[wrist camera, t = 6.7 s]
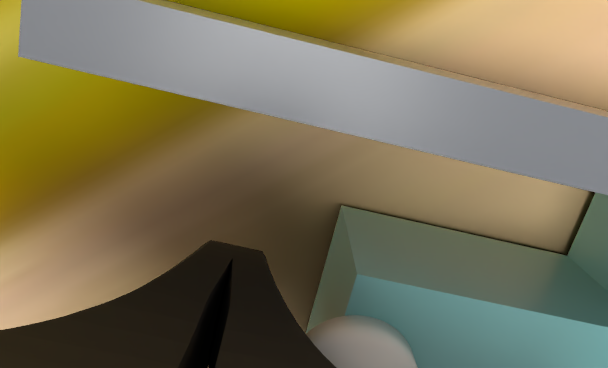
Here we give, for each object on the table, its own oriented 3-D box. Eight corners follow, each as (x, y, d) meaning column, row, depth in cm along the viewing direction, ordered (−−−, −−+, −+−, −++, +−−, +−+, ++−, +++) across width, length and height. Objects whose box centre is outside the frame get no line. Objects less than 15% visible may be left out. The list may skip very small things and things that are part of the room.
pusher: (531, 449, 15) (642, 653, 10) (259, 399, 14) (240, 592, 9) (659, 189, 12) (888, 297, 7) (334, 112, 12) (358, 175, 7)
